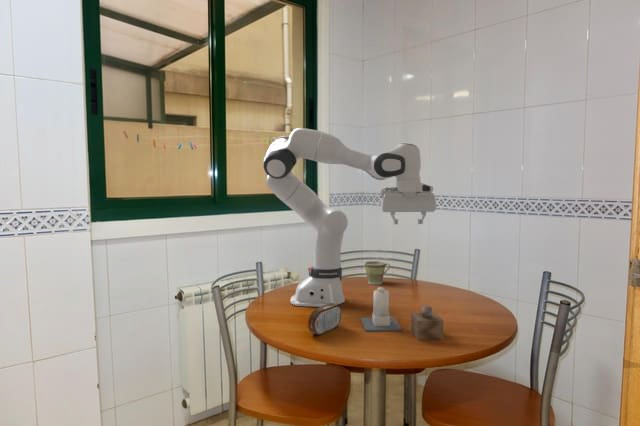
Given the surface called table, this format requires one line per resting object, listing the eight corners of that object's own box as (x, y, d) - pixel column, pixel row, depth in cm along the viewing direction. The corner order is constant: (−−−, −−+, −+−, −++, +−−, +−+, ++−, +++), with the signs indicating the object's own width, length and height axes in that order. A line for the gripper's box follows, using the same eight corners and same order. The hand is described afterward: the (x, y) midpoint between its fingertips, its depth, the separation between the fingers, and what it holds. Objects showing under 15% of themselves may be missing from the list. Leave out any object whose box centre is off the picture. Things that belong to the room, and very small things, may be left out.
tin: (335, 324, 141) (335, 300, 140) (343, 326, 139) (343, 301, 138) (307, 336, 129) (307, 310, 129) (314, 339, 127) (314, 312, 127)
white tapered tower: (374, 326, 137) (374, 290, 136) (372, 320, 142) (372, 286, 141) (390, 325, 137) (390, 290, 136) (387, 320, 142) (387, 286, 141)
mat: (365, 331, 133) (365, 329, 133) (361, 319, 145) (361, 317, 145) (402, 330, 134) (402, 329, 134) (394, 318, 146) (394, 317, 146)
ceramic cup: (369, 286, 193) (369, 265, 192) (361, 281, 203) (361, 261, 202) (394, 284, 197) (394, 263, 196) (385, 279, 206) (385, 260, 206)
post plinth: (417, 339, 126) (417, 311, 125) (411, 330, 134) (411, 303, 133) (443, 339, 126) (443, 311, 125) (435, 330, 134) (435, 303, 133)
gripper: (382, 187, 149) (382, 225, 150) (437, 187, 150) (437, 224, 151) (379, 187, 156) (379, 223, 157) (432, 187, 156) (432, 223, 157)
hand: (408, 224), depth 154 cm, fingers open, 8 cm apart
